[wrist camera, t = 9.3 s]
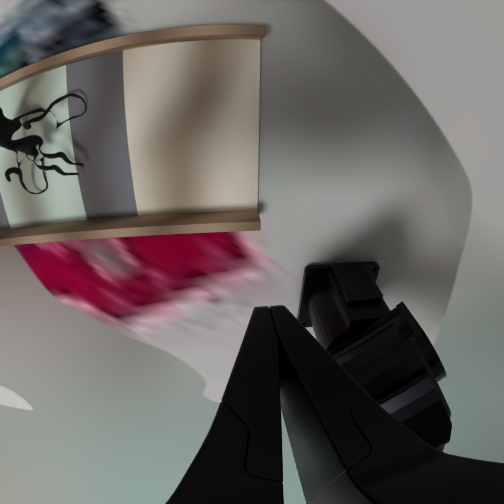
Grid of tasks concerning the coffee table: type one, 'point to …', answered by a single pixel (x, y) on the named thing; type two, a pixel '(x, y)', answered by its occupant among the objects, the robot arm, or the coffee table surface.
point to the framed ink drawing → (138, 137)
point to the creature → (32, 142)
